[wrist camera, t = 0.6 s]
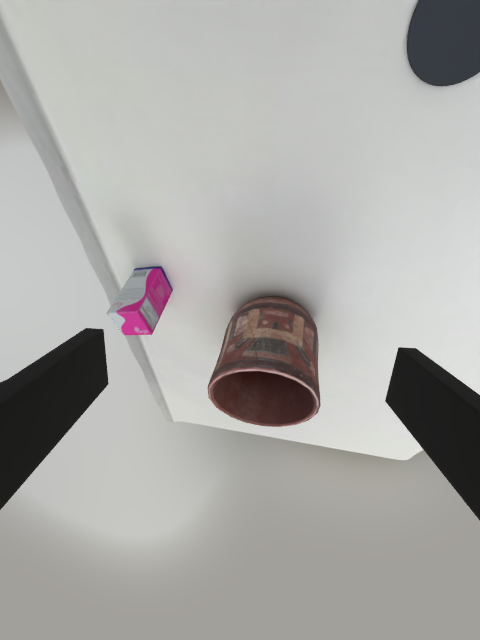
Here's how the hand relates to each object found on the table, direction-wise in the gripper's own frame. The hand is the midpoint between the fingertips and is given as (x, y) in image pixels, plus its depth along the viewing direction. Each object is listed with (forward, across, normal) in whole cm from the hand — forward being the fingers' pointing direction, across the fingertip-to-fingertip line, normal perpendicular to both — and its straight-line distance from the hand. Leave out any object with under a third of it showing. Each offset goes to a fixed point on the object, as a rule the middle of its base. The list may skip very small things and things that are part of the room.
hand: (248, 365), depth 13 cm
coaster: (+21, +18, +24) cm, 37 cm away
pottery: (+43, +6, -11) cm, 45 cm away
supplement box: (+43, -17, -5) cm, 46 cm away
